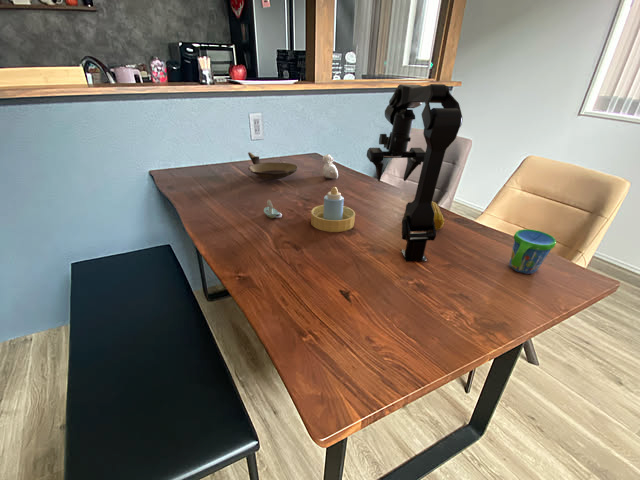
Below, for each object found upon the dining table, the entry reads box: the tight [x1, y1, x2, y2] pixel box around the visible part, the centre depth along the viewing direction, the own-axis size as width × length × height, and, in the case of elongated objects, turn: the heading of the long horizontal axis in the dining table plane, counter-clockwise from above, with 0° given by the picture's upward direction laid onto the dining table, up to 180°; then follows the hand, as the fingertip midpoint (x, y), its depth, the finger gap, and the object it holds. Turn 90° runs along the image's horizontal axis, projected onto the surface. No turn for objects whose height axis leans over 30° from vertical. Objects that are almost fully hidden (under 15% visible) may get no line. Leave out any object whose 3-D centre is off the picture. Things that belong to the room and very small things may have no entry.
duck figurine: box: [322, 153, 339, 180], centre depth 170 cm, size 12×8×11 cm
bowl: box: [310, 204, 356, 233], centre depth 127 cm, size 15×15×4 cm
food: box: [432, 201, 445, 231], centre depth 133 cm, size 21×6×6 cm, turn 174°
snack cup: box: [509, 228, 557, 275], centre depth 105 cm, size 16×10×10 cm
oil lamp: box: [247, 151, 299, 180], centre depth 170 cm, size 22×30×8 cm
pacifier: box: [263, 199, 283, 219], centre depth 131 cm, size 7×6×6 cm
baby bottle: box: [323, 186, 345, 220], centre depth 124 cm, size 7×7×12 cm
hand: (391, 180), depth 124 cm, fingers open, 9 cm apart
